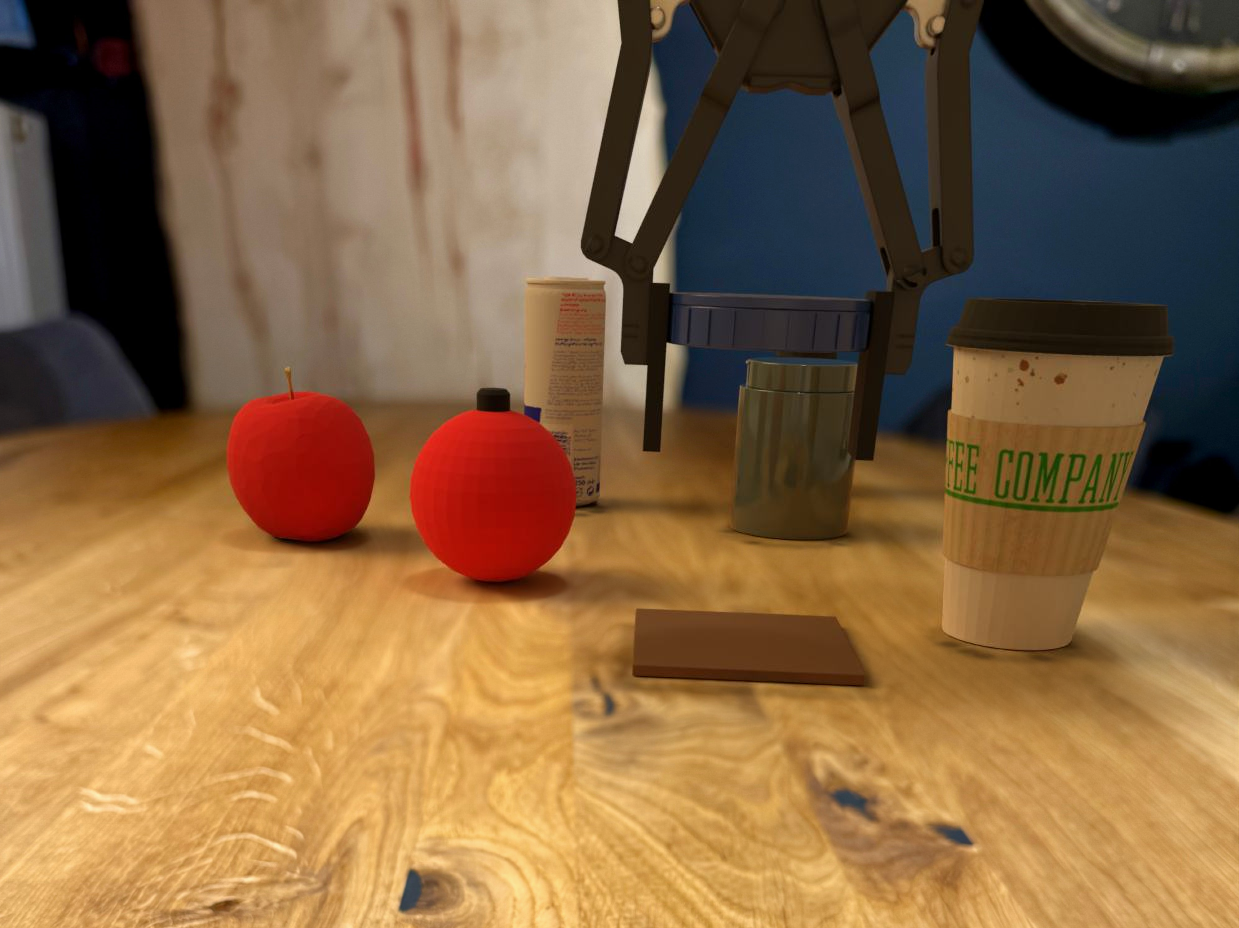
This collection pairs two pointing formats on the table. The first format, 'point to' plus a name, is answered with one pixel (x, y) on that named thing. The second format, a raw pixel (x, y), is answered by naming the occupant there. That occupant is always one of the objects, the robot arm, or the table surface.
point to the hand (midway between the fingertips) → (755, 451)
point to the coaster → (743, 647)
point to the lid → (768, 322)
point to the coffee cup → (1039, 458)
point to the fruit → (301, 465)
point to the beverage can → (567, 370)
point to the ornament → (493, 492)
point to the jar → (794, 449)
